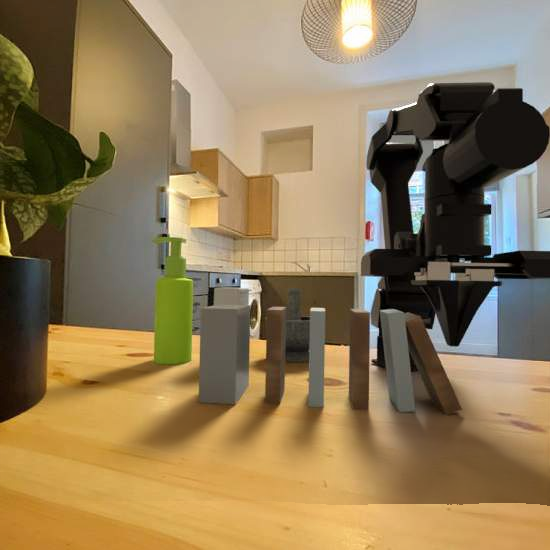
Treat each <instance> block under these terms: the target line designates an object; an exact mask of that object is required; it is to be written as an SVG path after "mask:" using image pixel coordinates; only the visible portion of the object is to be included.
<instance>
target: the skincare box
mask: <svg viewBox="0 0 550 550" xmlns="http://www.w3.org/2000/svg"><path fill="white" fill-rule="evenodd" d="M213 291H214V292H213V306H214V305H219V304H225V305H250V303H249V302H250V300H249V298H250V288H249V287H248V288H247V287H214V290H213Z"/></svg>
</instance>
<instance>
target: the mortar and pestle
mask: <svg viewBox="0 0 550 550" xmlns="http://www.w3.org/2000/svg"><path fill="white" fill-rule="evenodd" d="M286 293H287V296H288V298H287V299H288V300H287V305H286V342H285V363H286V362H289V363H304V362H307V361H308V362H309V343H310V315H309V316H305V315H302V308H301V307H302V306H301V305H302V304H301V302H302V301H301V298H302V297H303V296H302V295H303V291H302V290H301V289H299V288H294V287H293V288H290V289H287V292H286ZM264 329H265V330H264V331H265V334H266V333H267V316H266V317H265V318H264Z"/></svg>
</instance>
